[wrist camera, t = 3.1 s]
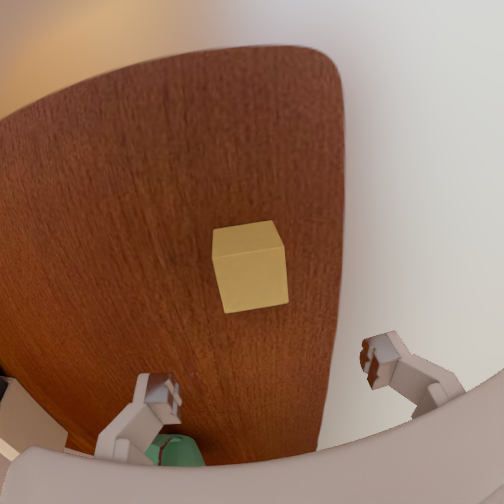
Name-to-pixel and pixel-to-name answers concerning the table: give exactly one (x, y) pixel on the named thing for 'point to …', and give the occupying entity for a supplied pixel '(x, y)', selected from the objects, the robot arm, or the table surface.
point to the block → (250, 266)
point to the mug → (174, 451)
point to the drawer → (2, 388)
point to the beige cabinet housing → (26, 423)
